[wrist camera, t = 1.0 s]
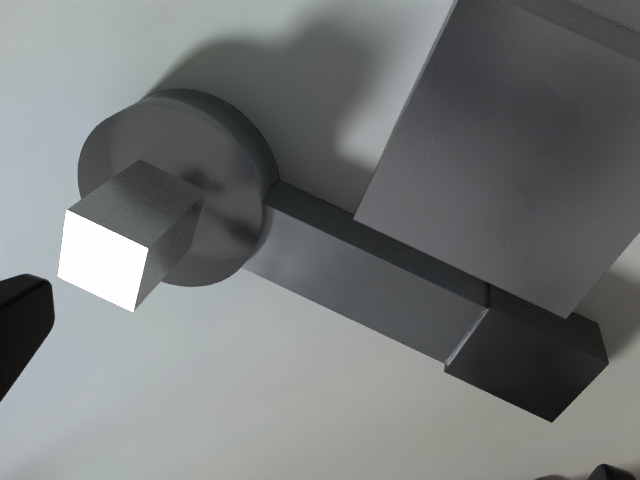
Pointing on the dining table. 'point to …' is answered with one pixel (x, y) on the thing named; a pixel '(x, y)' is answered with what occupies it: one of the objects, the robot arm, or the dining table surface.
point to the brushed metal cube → (518, 150)
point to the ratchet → (297, 251)
